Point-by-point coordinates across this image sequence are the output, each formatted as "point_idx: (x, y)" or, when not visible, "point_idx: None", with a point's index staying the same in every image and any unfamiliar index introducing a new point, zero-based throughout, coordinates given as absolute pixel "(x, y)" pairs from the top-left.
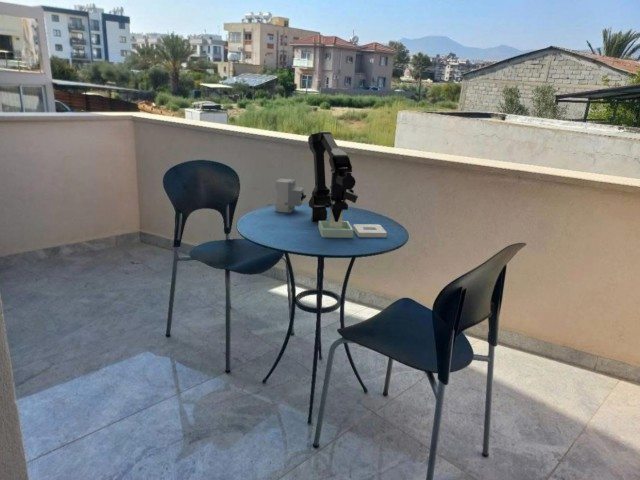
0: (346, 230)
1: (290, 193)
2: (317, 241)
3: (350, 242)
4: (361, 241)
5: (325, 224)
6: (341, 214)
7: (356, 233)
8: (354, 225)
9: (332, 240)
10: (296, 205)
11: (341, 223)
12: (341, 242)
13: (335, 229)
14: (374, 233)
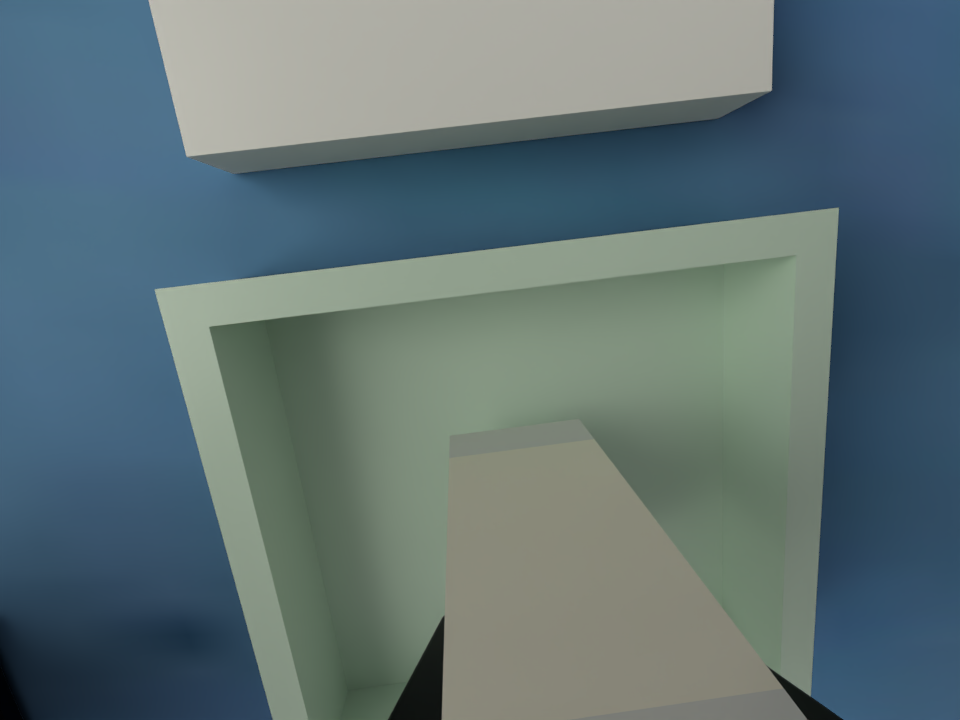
0: (821, 354)
1: None
2: (874, 672)
3: (949, 276)
4: (922, 91)
5: (324, 662)
6: (741, 679)
7: (536, 138)
8: (279, 141)
9: (849, 513)
10: None
11: (611, 476)
12: (936, 402)
13: (793, 551)
14: None
